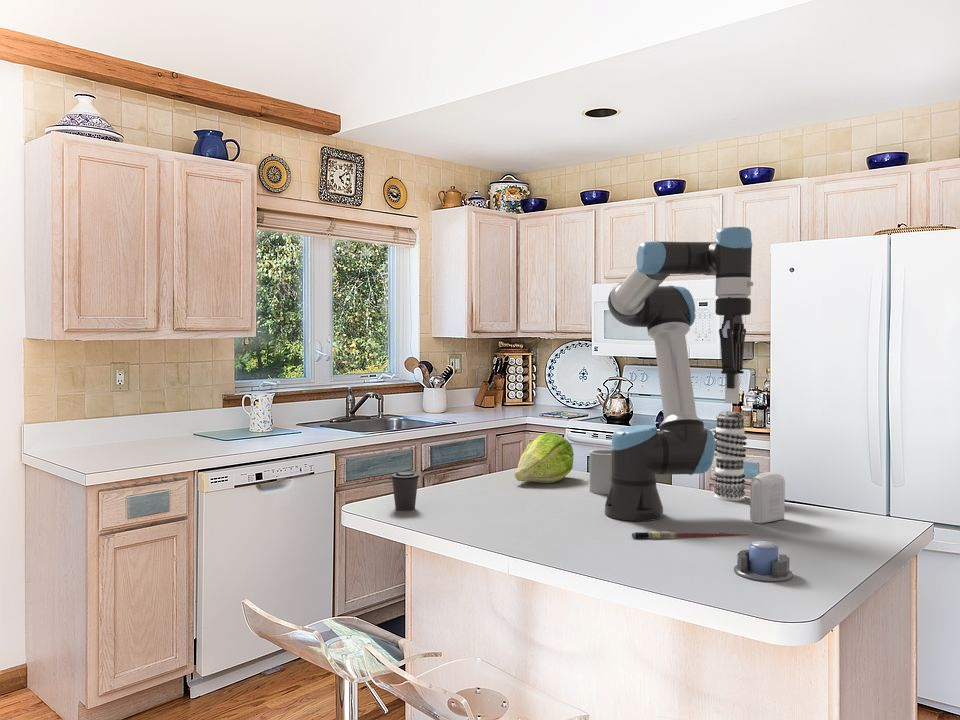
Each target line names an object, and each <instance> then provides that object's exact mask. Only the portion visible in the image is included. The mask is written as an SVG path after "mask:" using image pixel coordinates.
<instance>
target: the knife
mask: <svg viewBox="0 0 960 720" xmlns="http://www.w3.org/2000/svg"><path fill="white" fill-rule="evenodd" d="M737 536H738V537H740V536H741V537H742V536H749V534H747V533H745V534H744V533H729V532H674V531H669V530H664V531H658V530H657V531H656V530H653V531H651V530H650V531H647V532H644V531H643V532H632V533H631V537H632V539H649V540H659V539H661V540H662V539H663V540H664V539H666V540H667V539H668V540H669V539H672V540H673V539H678V538H679V539H685V538H688V539H689V538H713V537H737Z"/></svg>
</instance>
